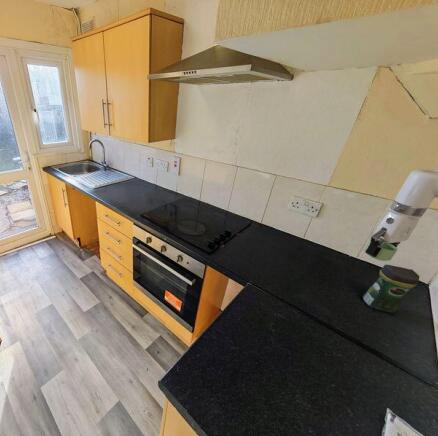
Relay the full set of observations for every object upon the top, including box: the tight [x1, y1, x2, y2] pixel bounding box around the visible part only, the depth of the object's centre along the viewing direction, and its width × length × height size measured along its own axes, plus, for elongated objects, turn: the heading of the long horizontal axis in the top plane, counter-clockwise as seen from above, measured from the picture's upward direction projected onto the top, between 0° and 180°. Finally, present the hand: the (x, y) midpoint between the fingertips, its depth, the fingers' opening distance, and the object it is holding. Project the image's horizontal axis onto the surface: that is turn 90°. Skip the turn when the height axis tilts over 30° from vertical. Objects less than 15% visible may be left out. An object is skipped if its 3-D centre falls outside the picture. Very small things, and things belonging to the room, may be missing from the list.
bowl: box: [364, 239, 398, 262], centre depth 80 cm, size 7×7×5 cm
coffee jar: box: [362, 264, 420, 314], centre depth 87 cm, size 10×8×19 cm
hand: (378, 253), depth 81 cm, fingers closed on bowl, 7 cm apart
